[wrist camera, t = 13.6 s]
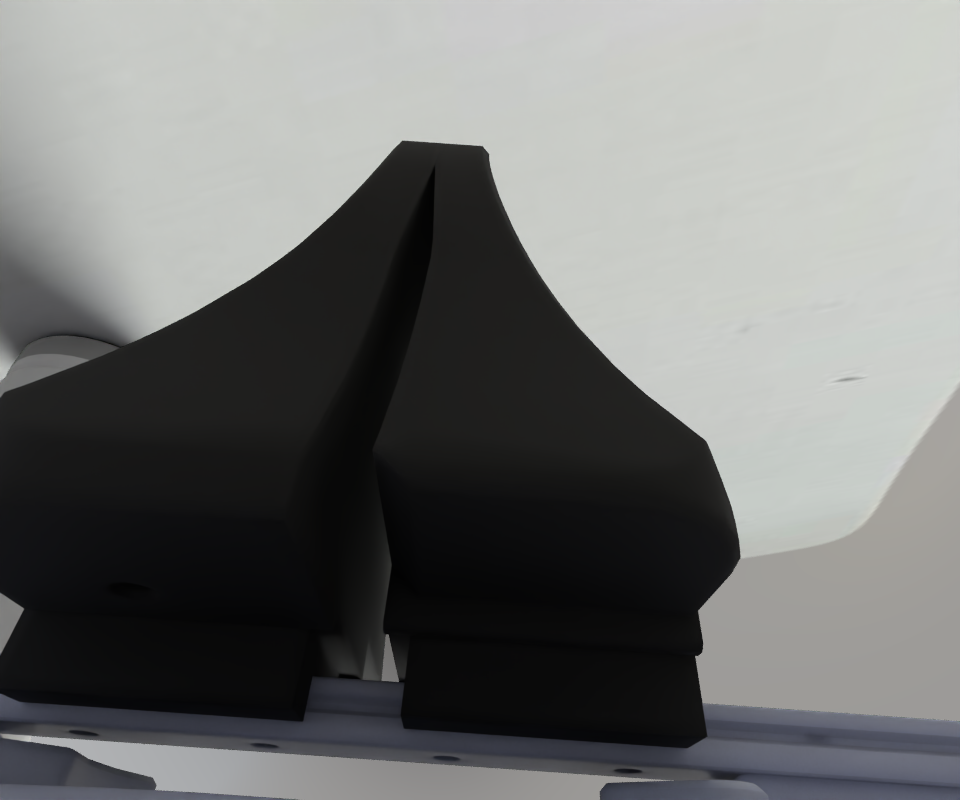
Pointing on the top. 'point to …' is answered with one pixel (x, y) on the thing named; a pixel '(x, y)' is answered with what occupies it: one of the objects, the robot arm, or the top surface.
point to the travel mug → (28, 368)
